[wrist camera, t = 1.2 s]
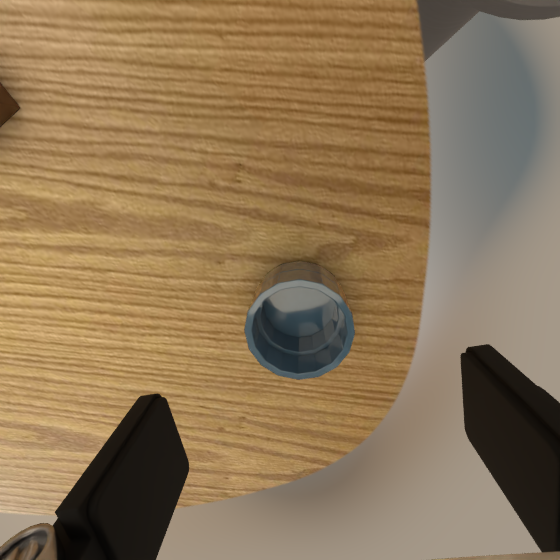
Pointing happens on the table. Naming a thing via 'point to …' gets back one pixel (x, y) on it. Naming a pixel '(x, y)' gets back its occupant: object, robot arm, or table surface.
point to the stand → (6, 105)
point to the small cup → (299, 321)
